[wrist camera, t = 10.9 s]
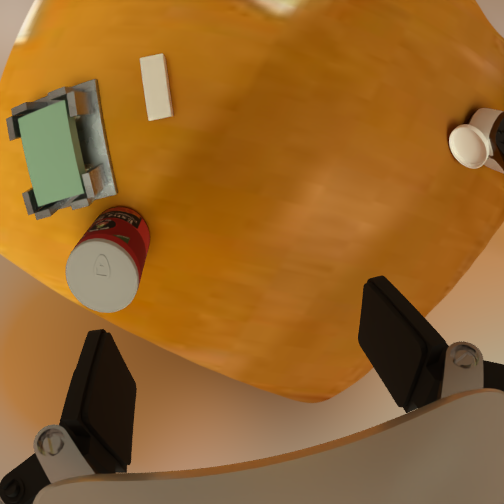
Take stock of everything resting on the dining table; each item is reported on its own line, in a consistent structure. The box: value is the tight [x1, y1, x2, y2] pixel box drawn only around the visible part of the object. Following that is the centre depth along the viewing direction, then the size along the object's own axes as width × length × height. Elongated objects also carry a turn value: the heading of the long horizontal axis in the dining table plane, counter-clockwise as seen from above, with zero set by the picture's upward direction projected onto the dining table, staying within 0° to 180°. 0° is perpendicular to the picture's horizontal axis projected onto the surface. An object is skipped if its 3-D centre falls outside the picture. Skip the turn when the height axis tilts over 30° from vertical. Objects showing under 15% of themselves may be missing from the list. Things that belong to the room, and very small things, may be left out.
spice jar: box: [449, 108, 504, 173], centre depth 34 cm, size 12×11×12 cm
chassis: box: [6, 79, 118, 220], centre depth 28 cm, size 14×10×6 cm
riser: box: [140, 53, 174, 121], centre depth 29 cm, size 7×2×4 cm, turn 6°
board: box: [18, 100, 86, 207], centre depth 27 cm, size 10×6×2 cm, turn 7°
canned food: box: [66, 207, 150, 313], centre depth 32 cm, size 8×8×11 cm
